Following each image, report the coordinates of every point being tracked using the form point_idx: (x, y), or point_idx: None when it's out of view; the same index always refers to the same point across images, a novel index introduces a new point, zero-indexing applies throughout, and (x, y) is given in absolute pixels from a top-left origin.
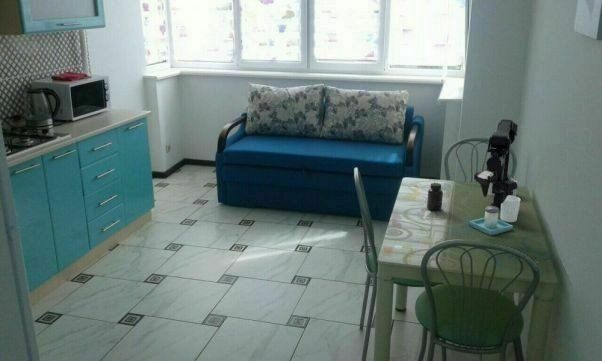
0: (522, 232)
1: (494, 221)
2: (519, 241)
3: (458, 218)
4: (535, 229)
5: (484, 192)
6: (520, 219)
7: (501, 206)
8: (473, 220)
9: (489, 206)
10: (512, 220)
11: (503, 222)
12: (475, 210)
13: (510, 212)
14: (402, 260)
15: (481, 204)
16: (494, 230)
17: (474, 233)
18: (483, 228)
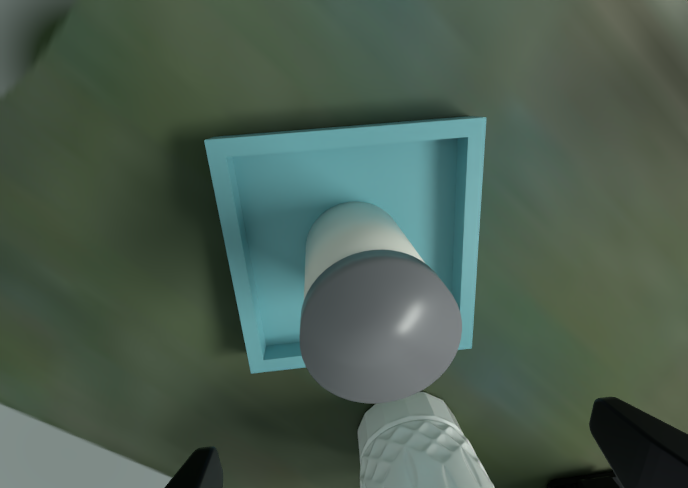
0: (192, 379)
1: (305, 267)
2: (43, 264)
3: (617, 137)
4: None
5: (685, 473)
6: None
7: (467, 475)
8: (478, 168)
9: (446, 348)
10: (361, 432)
11: None
12: (630, 347)
13: (376, 471)
14: None
15: None
16: (214, 184)
17: (303, 27)
18: (300, 131)
